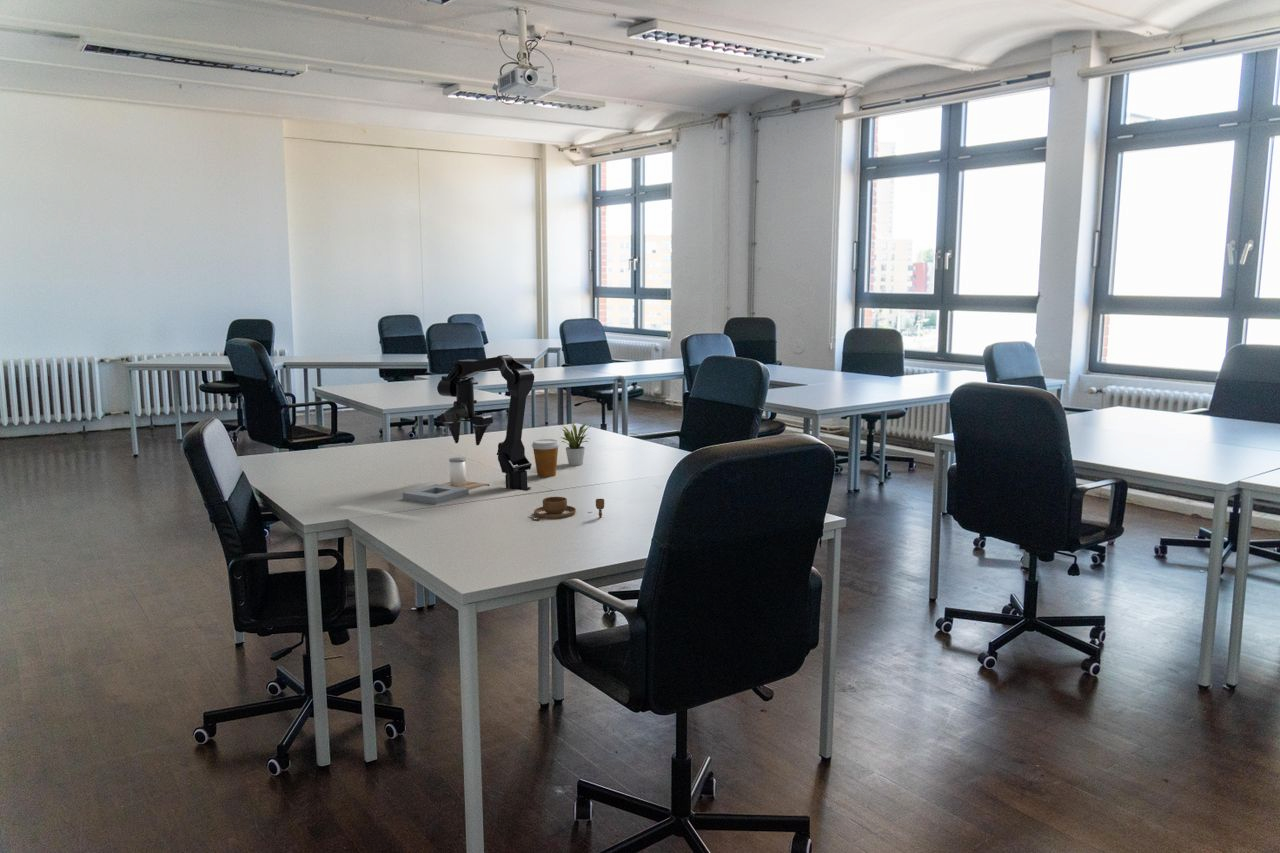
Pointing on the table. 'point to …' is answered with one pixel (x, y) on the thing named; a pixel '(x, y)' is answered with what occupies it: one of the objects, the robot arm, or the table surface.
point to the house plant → (575, 444)
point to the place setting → (561, 508)
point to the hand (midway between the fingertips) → (467, 444)
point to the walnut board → (470, 485)
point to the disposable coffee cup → (546, 456)
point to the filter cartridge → (457, 472)
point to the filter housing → (435, 494)
